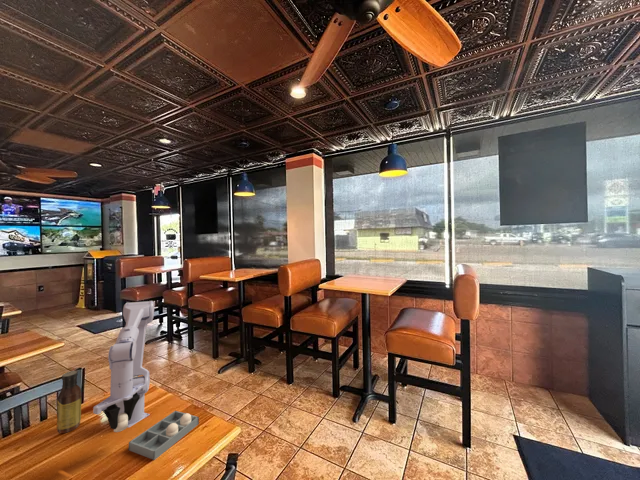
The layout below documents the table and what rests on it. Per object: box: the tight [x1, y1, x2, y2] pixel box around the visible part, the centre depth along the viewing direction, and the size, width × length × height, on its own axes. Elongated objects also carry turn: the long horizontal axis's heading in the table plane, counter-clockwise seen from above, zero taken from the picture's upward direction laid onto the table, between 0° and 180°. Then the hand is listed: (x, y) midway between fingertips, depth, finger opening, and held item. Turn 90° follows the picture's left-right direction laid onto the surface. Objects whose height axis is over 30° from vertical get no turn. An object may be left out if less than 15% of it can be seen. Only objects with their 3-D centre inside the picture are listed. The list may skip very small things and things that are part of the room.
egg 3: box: [180, 412, 192, 426], centre depth 91 cm, size 4×4×5 cm
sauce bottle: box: [56, 370, 82, 434], centre depth 92 cm, size 6×6×20 cm
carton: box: [128, 410, 200, 461], centre depth 87 cm, size 12×17×3 cm
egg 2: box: [166, 423, 178, 437], centre depth 86 cm, size 4×4×5 cm
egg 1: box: [113, 413, 128, 433], centre depth 82 cm, size 4×4×5 cm
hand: (120, 423), depth 82 cm, fingers closed on egg 1, 4 cm apart
